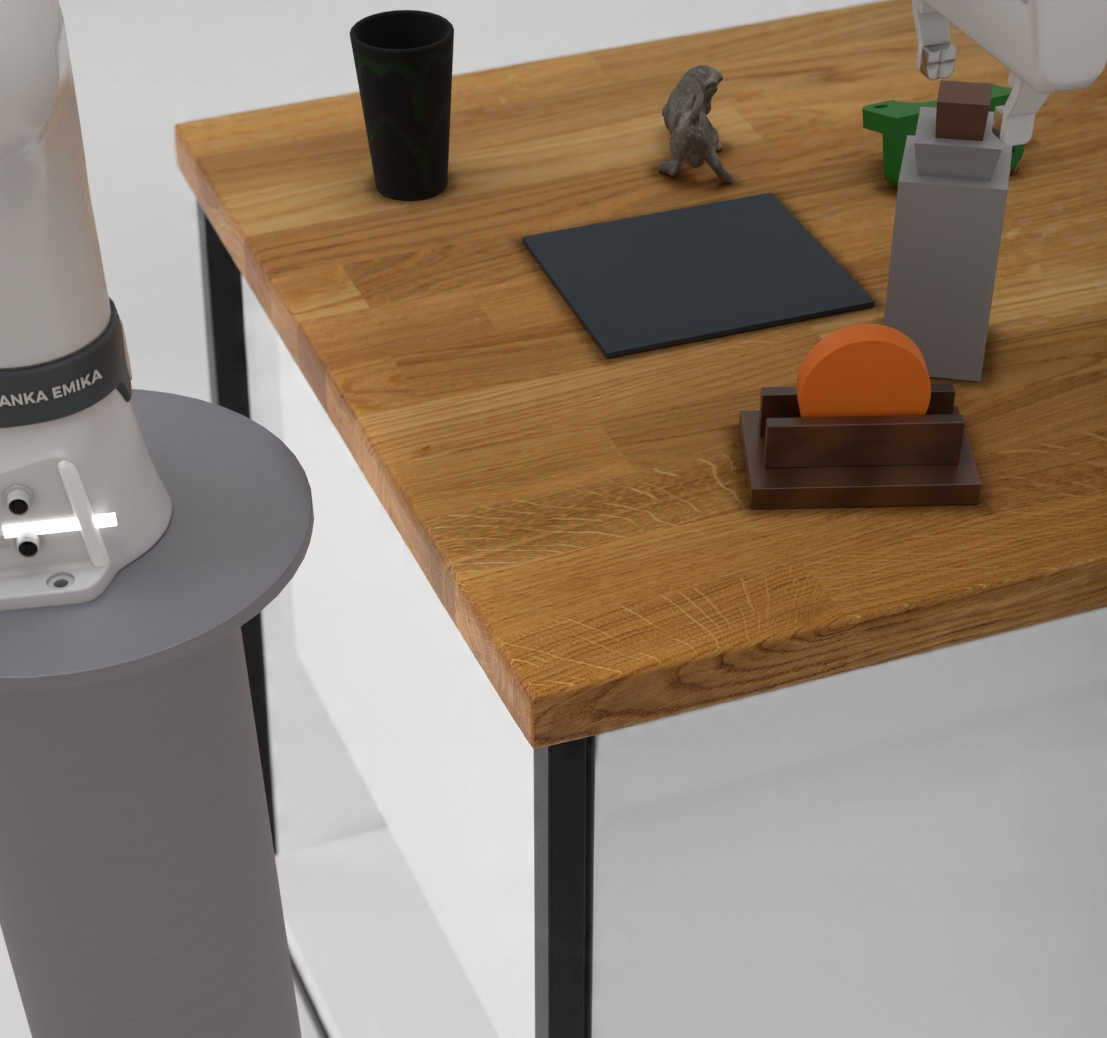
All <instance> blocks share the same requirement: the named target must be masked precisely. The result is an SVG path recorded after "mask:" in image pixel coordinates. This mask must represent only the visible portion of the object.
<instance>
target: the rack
mask: <svg viewBox="0 0 1107 1038" xmlns="http://www.w3.org/2000/svg"><path fill="white" fill-rule="evenodd" d="M759 395H760V396H759V397H760V398H759V410H757V409H756V410H754V409H752V410H751V409H750V410H740V411H739V417H738V435H739V441H740V447H741V453H742V454H741V455H742V461H743V467H744V474H745V481H746V487H747V494H748V501H749V507H750V510H774V509H775V510H776V509H781V510H782V509H819V508H820V509H823V508H824V509H825V508H864V507H865V508H866V507H868V508H870V507H871V508H872V507H873V508H874V507H910V506H911V507H913V506H914V507H915V506H916V507H917V506H919V507H920V506H961V505H963V506H964V505H979V504H980V497H981V491H982V490H981V489H982V482H981V478H980V474H979V471H978V468H977V464H976V461H975V459H974V455H973V452H972V448H971V445H970V441H969V438H968V434H967V431H966V429H965V425H966V422H965V418H964V414H963V413H961V412H960V408H959V406H958V405H955V402H956V401H955V400H956V388H955V384H954V383H953V382H941V383H940V382H936V383H932V382H931V398H930V403H929V406H928V409H927V412H926V414H925V415H895V416H848V417H802V418H801V414H800V409H799V404H798V399H797V393H796V385H795V386H793V385H792V386H761V387H760V394H759Z"/></svg>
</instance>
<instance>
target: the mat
mask: <svg viewBox="0 0 1107 1038" xmlns="http://www.w3.org/2000/svg"><path fill="white" fill-rule="evenodd" d="M521 239H522V243H523V244H524V245H525V247H526V248H527V250H528V252H530V254H531V255H532V257H533V258H534V259H535V260H536V261H535V262H537V263H538V265H539V266H540V268H541V269H542V271H543V272H544V273H545V274H546V276H547V277H548V279H549V280H550V281H551V283H552V284H553V285H554V287H555V288H556V290H557V291H558V292H559V294H560V296H562V298H563V299H564V300H565V303H567V306H568V307H570V309H571V311H572V312H573V313H574V314H575V316H576V318H577V319H578V320H579V321H580V323H581V324H582V326H583V327H584V328H585V329H586V331H587V332H588V334H589V335H590V336H591V338H592V339H593V341H594V342H595V344H596V345H597V346H598V348H599V349H600V351H601V352H602V353H603V354H604V356H605V358H607V359H610V358H614V357H621V356H625V355H630V354H635V353H636V354H637V353H640V352H645V351H651V350H656V349H661V348H665V347H671V346H672V347H673V346H676V345H683V344H686V343H693V342H697V341H703V340H707V339H713V338H718V337H722V336H723V337H724V336H728V335H732V334H738V333H743V332H748V331H754V330H759V329H763V328H770V327H774V326H781V325H784V324H790V323H794V322H800V321H805V320H811V319H816V318H822V317H827V316H831V315H835V314H842V313H847V312H852V311H857V310H861V309H867V308H873V307H875V303H876V302H875V300H874V299H873V298H872V297H871V296H870V294H869V293H867V291H865V290H864V289H863V287H862V286H861V285H860V284H859V283H858V282H857V281H856V280H855V279H854V278H853V277H852V276H851V275H850V274H849V273H848V272H847V271H846V270H845V269H844V267H843V266H842V265H841V264H840V263H839V262H838V261H837V260H836V259H835V258H834V257H833V256H832V255H831V254H830V252H828V251H827V250H826V248H824V247H823V246H822V245H821V243H820V242H819V241H818V240H817V239H816V238H815V237H814V236H813V235H812V234H811V232H809V230H807V229H806V228H805V226H804V225H803V224H802V223H801V222H800V221H799V220H798V219H797V218H796V217H795V215H793V214H792V213H791V211H789V210H788V208H787V207H786V206H785V205H784V204H783V203H782V202H781V201H780V200H779V199H778V198H777V197H776V196H775V195H774V194H773V193H772V192H766V193H760V194H755V195H751V196H749V195H748V196H744V197H738V198H733V199H727V200H721V201H716V202H710V203H704V204H700V205H694V206H688V207H683V208H676V209H670V210H665V211H660V212H654V213H648V214H643V215H637V216H633V217H632V216H631V217H625V218H620V219H614V220H609V221H603V222H598V223H597V222H596V223H592V224H587V225H581V226H575V227H569V228H564V229H559V230H553V231H548V232H547V231H546V232H542V233H536V234H531V235H526V236H525V235H524V236H522V238H521Z"/></svg>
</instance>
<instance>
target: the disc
mask: <svg viewBox="0 0 1107 1038" xmlns="http://www.w3.org/2000/svg"><path fill="white" fill-rule="evenodd" d="M930 378H931V377H929V374H928V371H927V367H926V364H925V360H924V358H923V355H922V353H921V351H920V350H919V348H918V346H917V345H916V344H915V343H914V342H913V341H912V340H911V339H910V338H909V337H908V336H907V335H905V334H904V333H902V332H900V331H898V330H896V329H894V328H892V327H888V326H885V325H883V324H880V323H858V324H851V325H848V326H845V327H841V328H840V329H837V330H835V331H833V332H831V333H829V334H827V335H826V336H824V337H823V338H821V340H819V341H818V342H817V343H815V345H814V346H812V348H811V349H810V350H809V352H808V353H807V354H806V356H805V357H804V358H803V360H802V362H801V365H800V367H799V369H798V373H797V375H796V383H795V386H796V393H797V399H798V404H799V409H800V414H801V418H802V417H848V416H895V415H925V414H926V412H927V409H928V406H929V403H930V398H931V384H932V382H931V379H930Z"/></svg>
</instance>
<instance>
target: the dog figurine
mask: <svg viewBox="0 0 1107 1038" xmlns="http://www.w3.org/2000/svg"><path fill="white" fill-rule="evenodd" d="M723 80H724V75H723V73H721V72H719V71H718V69H717V68H715V67H713V66H710V65H705V64H700V65H696V66H693V67H691V68H690V69H688V70H687V71H686V72H685V73H683V75H682V76H681V77H680V78H679V82H678V83H677V84H676V86H674V88H673V89H672V91H671V92H670V94H669V97H668V98H667V101H666V103H665V104H664V105H663V108H662V109H661V110H662V111H661V116H662V117H663V122H664V125H665V128H666V129H667V131H668V132H669V135H670V137H669V140H668V142H669V149H670V150H669V151H670V157H669V159H663V160H662V161H661V162H659V164H658V167H657V170H658V171H659V172H661V173H664V174H665V175H666V176H668V175H669V176H671V177H674V176H675V175H678V174H679V172H680V170H681V168H682V165H683V163H684V162H685V161H687V162H688V164H689V165H690V166H691V167H692V168H693V169H698V168H700V167H701V166H702V164H703V161H704V160H705V161H706V163H707V164H708V166H709V167H710V168H711V170H712V171H713V172H714V173H715V175H716V177H717V178H718V179H719V180H721V182H723V183H724V184H731V183H732V182H733V181H734V178H733V174H731V173H730V172H729V171H728V170H727V169H726V168H725V167H724V166H723V164H722V161H721V159H720V158H719V156H718V153H717V151H720V150H721V149H722V148H723V144H722V143H721V142H720V136H719V132H718V130H717V128H716V127H715V126H714V125H713V124H712V122H711V121H710V119H709V117H708V116H707V115H709V114H710V112H711V111H712V99H713V97H714V95H715V94H717V92H718V85H719V84H720V83H721V82H722V81H723Z"/></svg>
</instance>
